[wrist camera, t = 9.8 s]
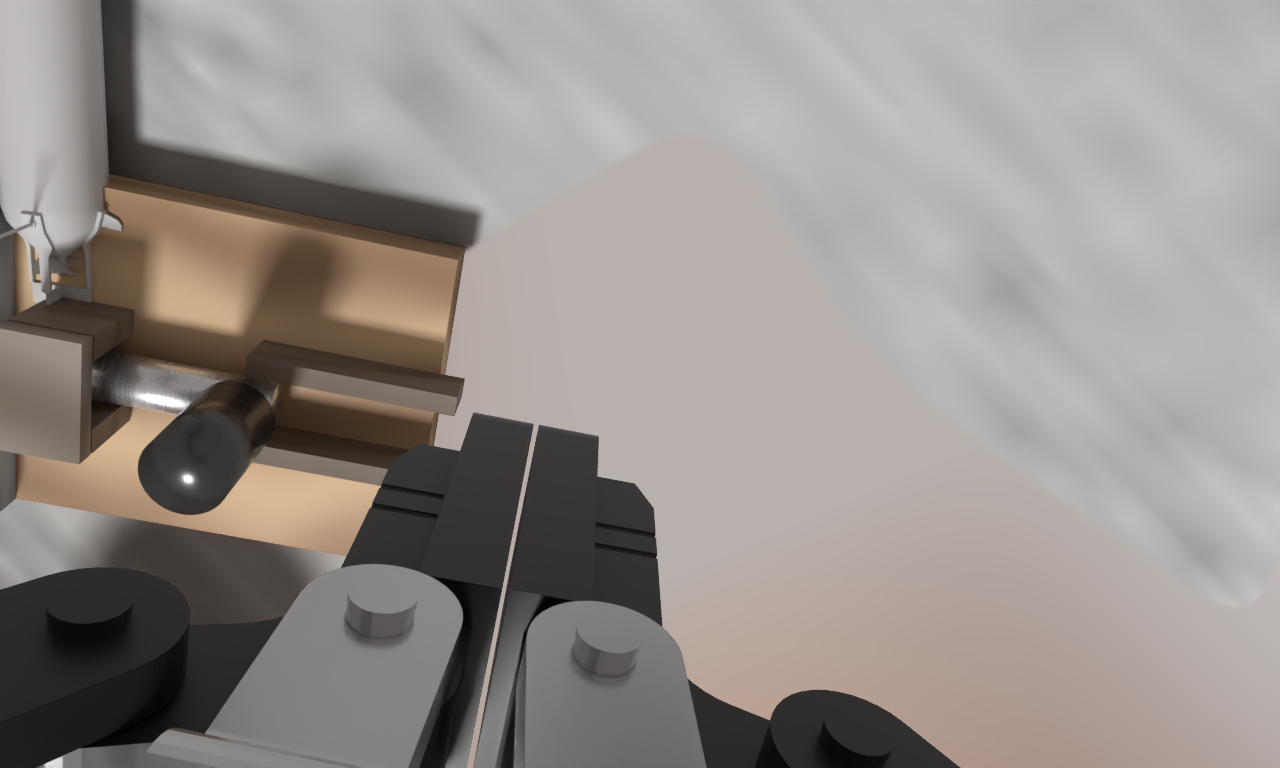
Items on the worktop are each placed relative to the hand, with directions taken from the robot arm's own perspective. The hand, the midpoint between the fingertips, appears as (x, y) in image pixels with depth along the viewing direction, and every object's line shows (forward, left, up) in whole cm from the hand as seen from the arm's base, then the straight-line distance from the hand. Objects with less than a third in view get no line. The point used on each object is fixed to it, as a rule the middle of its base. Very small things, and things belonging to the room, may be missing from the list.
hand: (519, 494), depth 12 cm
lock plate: (+12, -14, -29) cm, 34 cm away
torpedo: (+1, -19, -29) cm, 35 cm away
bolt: (+12, -14, -27) cm, 33 cm away
